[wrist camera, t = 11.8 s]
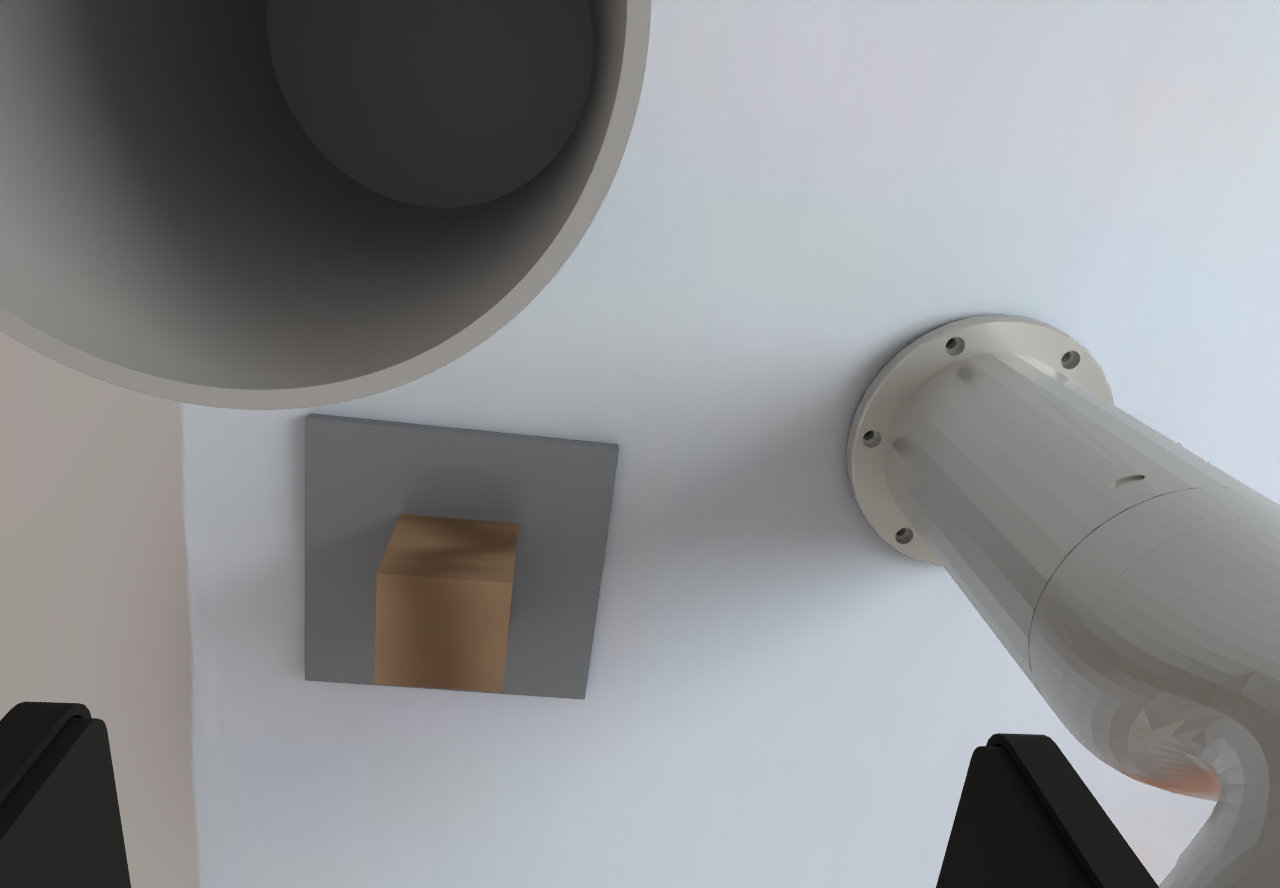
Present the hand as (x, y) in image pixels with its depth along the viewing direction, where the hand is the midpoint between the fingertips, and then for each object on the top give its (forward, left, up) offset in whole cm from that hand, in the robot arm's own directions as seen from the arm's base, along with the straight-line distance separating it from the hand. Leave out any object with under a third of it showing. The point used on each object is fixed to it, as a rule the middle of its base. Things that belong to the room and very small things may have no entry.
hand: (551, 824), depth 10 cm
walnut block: (+4, +15, -31) cm, 35 cm away
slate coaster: (+4, +15, -32) cm, 35 cm away
